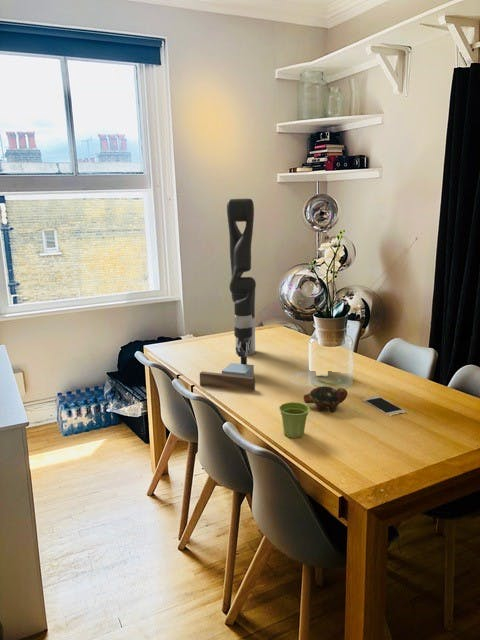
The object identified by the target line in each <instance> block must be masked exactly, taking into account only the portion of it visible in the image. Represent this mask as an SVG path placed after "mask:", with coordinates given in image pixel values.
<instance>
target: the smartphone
mask: <svg viewBox="0 0 480 640" xmlns="http://www.w3.org/2000/svg"><path fill="white" fill-rule="evenodd" d="M364 401H365V402H364ZM362 402H364V403H366V402H367V403H368V405H369V404H370V405H369V406H371V405H372V406H374V407H376V408H377V409H376V408H375V409H376V410H378V409H379V410H381V411H383V412H384V413H383V412H382V413H383V414H385V413H386V414H388V415H390V414H392V415H393V414H396V413H403V412H406V413H407V411H406V410H404V409H403V408H401V407H400V406H398V405H395V404H394V403H392V402H390V401H388V400H386V399H384V398H382V397H380V396H378V395H377V396H372V397H367V398H363V399H362ZM367 403H366V404H367ZM372 406H371V407H372ZM374 407H373V408H374ZM379 410H378V411H379ZM381 411H380V412H381ZM386 414H385V415H386ZM388 415H387V416H388Z"/></svg>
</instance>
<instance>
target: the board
mask: <svg viewBox="0 0 480 640" xmlns="http://www.w3.org/2000/svg"><path fill="white" fill-rule="evenodd" d="M255 383H256V378H255V376H252V377H249V376H240V375H231V374H222V372H221V373H220V372H211V371H200V372H199V386H202V387H203V386H205V387H212V388H221V389H228V390H237V391H245V392H254V391H255V389H256V384H255Z"/></svg>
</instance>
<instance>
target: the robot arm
mask: <svg viewBox="0 0 480 640" xmlns="http://www.w3.org/2000/svg"><path fill="white" fill-rule="evenodd" d="M226 216H227V223H228V233H229V234H228V235H229V259H230V268H231V269H230V271H231V272H230V273H231V279H230V281H229V282H230V283H229V291H230V293H231V299H232V302H233V303H234V304H233V305H234V319H233V325H234V327H233V329H234V330H233V331H234V332H233V333H234V335H233V336H234V337H235V353H236V354H237V356H238V357H239V358H240V364H248V356H250V355H253V354H255V353H256V318H255V317H256V316H255V315H256V314H255V313H256V311H255V309H256V308H255V304H256V303H255V302H256V285H257V283H256V279H254V277H252V276H243V274H244V273H246V272H249V271H251V270H252V269H251V268H252V241H253V234H254V233H253V231H254V218H255V206H254V202H253V199H252V198H230V199H228V200H227V204H226ZM238 222H242V223H243V222H245V227H244V231H243V233H242V232H241V230H240V228H239V226H238V224H237V223H238Z"/></svg>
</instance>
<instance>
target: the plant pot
mask: <svg viewBox="0 0 480 640" xmlns="http://www.w3.org/2000/svg"><path fill="white" fill-rule="evenodd" d="M310 409H311V408H310V407H309V405H308V404H306V403H303V402H296V401H290V402H285V403H282V404H280V405H279V407H278V410H279V411H280V415H281V419H282V428H283V434H284V435H286V436H287V438H290V437H291V439H296V438H299V437H301V436H302V437H303V436H304V435H305V429H306V427H305V426H306V422H307V417H308V414H309V412H310Z"/></svg>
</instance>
